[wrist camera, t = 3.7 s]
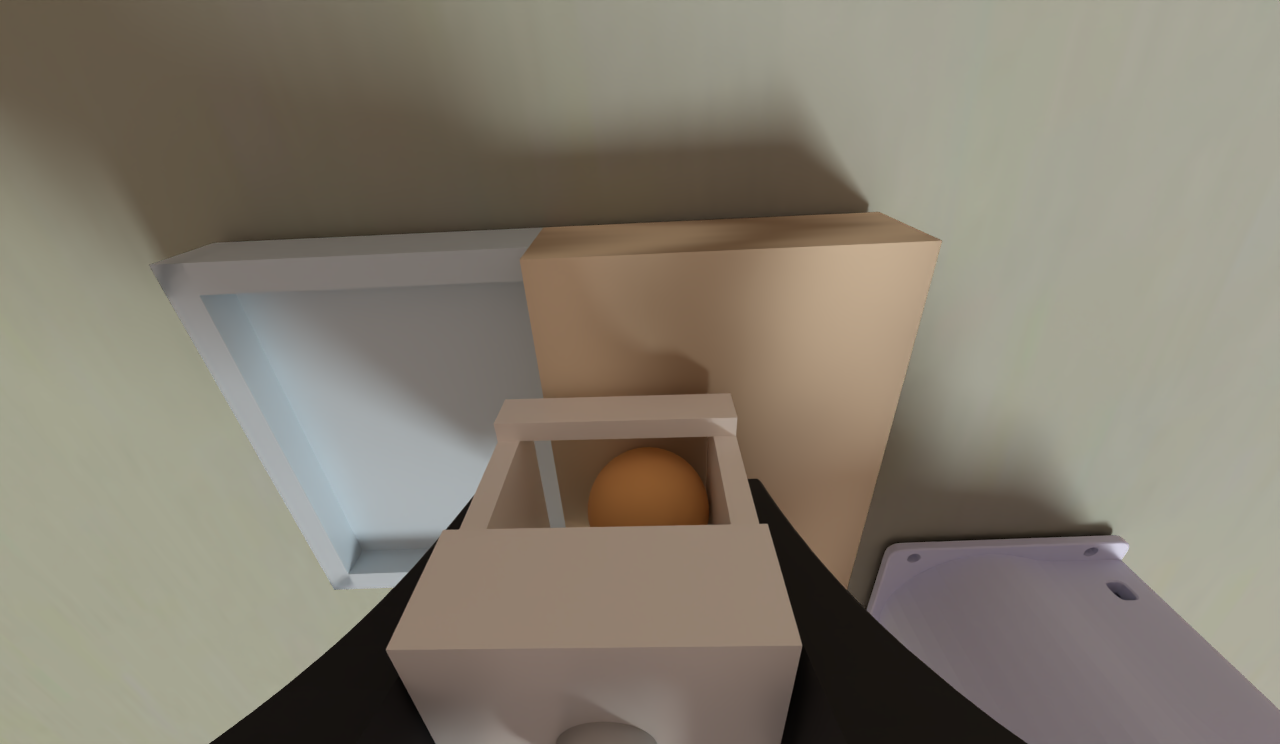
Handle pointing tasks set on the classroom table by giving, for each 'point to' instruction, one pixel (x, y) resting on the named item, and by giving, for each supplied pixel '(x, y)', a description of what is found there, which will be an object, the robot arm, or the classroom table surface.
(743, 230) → the board
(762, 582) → the small drawer with knob
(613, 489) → the ball
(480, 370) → the tray
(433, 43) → the classroom table surface
